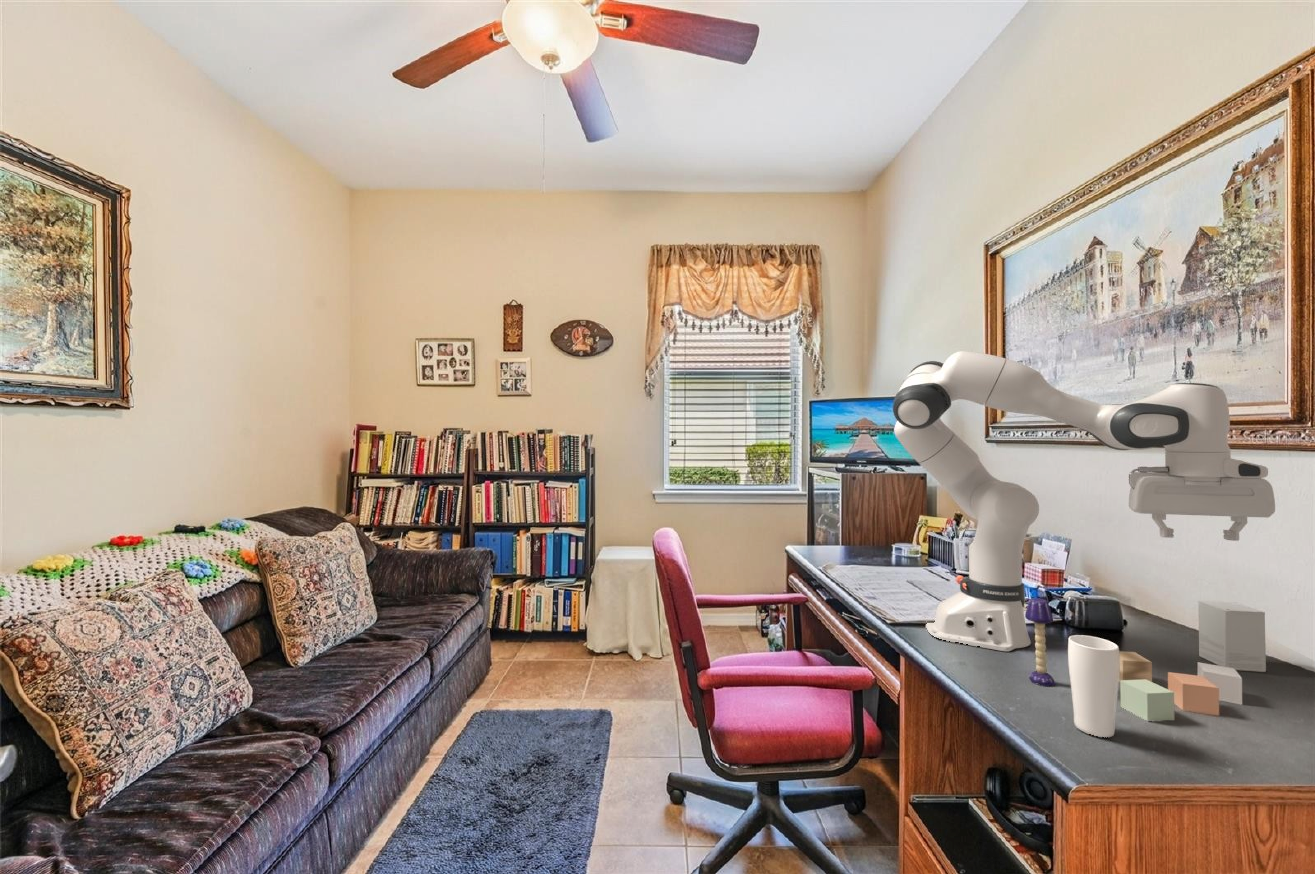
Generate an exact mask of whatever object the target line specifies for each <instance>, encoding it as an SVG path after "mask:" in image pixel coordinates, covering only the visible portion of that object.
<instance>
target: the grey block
mask: <svg viewBox="0 0 1315 874" xmlns="http://www.w3.org/2000/svg"><path fill="white" fill-rule="evenodd" d="M1197 676H1203V677H1204V678H1205V679H1207V680H1208V681H1210V682H1211V683H1212V684H1214V685H1215V686H1217V687H1218V688H1219V701H1222V702H1228V703H1230V704H1231V703H1233V704H1236V705H1241V706H1242V705H1243V677H1242V676H1241V675H1240V674H1239V673H1238V670H1235V669H1234V668H1229V667H1223V666H1219V665H1217V664H1211V663H1205V662H1197Z"/></svg>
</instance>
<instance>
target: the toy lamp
mask: <svg viewBox="0 0 1315 874" xmlns="http://www.w3.org/2000/svg"><path fill="white" fill-rule="evenodd" d="M1024 618H1025V619H1026V620H1028V621H1030V622H1032V623H1034V634H1035V636H1034V641H1035V643H1034V646H1035V663H1036V666H1035V671H1032V672H1031V673H1030V675H1029V677H1028V679H1030V680H1031V681H1032V682H1031V681H1030V680H1029V681H1030V682H1031V683H1033V682H1034V683H1033V684H1035V683H1038V684H1040V685H1039V686H1042V685H1043V687H1054V686H1055V685H1056V682H1055V679H1054V678H1053V676H1052V675H1051V674H1049V673H1048V669H1047V659H1046V658H1047V652H1046V651H1047V646H1046V641H1047V640H1046V636H1045V635H1046V629H1045V627H1046V624H1051V623H1053V622H1054V617H1053V615H1052V611H1051V609H1050V606H1049V603H1048V601H1047V600H1046V599H1043V598H1040V597H1039V598H1038V597H1033V598H1030V599H1029V600H1028V603H1027V607H1026V610H1025V613H1024ZM1038 684H1037V685H1038Z"/></svg>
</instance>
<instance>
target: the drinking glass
mask: <svg viewBox="0 0 1315 874" xmlns="http://www.w3.org/2000/svg"><path fill="white" fill-rule="evenodd" d="M1067 640H1068V641H1067V665H1068V673H1069V674H1068V675H1069V680H1070V681H1069V682H1070V691H1071V698H1072V700H1071V701H1072V709H1073V711H1072V712H1073V724H1074V726H1075V727H1076V728H1077V729H1078V730H1080V731H1081V732H1083V733H1084V734H1086V735H1089V734H1091V735H1090V736H1092V735H1094V736H1093V737H1096V736H1098V738H1102V737H1104V738H1105V737H1106V738H1107V737H1108V738H1111V737H1113V736H1114V735H1115V731H1116V727H1115V725H1116V723H1115V721H1116V711H1117V702H1118V694H1119V693H1118V692H1119V683H1120V682H1119V672H1120V658H1119V651H1120V648H1119V645H1117V644H1116V643H1114V642H1112V641H1110V640H1109V639H1104V638H1102V637H1101V638H1100V637H1097V636H1092V635H1083V634H1081V635H1080V634H1075V635H1070V636H1069V637H1068V639H1067ZM1104 738H1103V739H1104ZM1108 738H1107V739H1108Z"/></svg>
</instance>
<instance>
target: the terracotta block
mask: <svg viewBox="0 0 1315 874" xmlns="http://www.w3.org/2000/svg"><path fill="white" fill-rule="evenodd" d="M1167 689H1168V690H1170V691H1172V692H1174V705H1176V706H1177V707H1178V708H1179V709H1180V710H1181V709H1182V711H1183V712H1189V711H1191V712H1190V713H1196V714H1197V713H1198V714H1204V715H1212V716H1218V717H1219V716H1220V700H1219V688H1218V687H1217V686H1215V685H1214V684H1212V683H1211V682H1210V681H1208V680H1207V679H1205V678H1204V677H1203V676H1198V674H1197V675H1196V674H1188V673H1179V672H1170V671H1168V672H1167Z"/></svg>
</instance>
